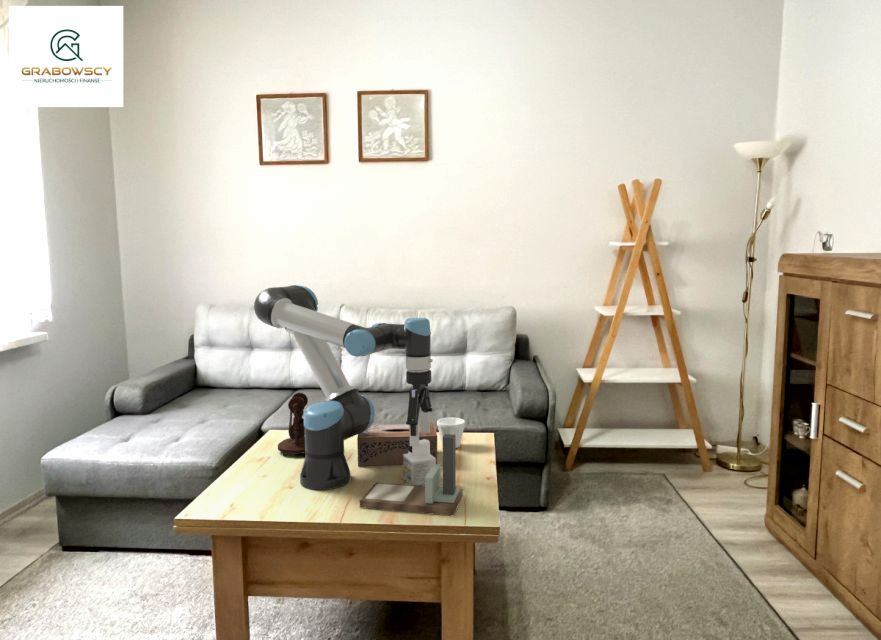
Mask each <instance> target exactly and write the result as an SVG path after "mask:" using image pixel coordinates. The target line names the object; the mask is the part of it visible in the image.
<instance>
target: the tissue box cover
mask: <svg viewBox="0 0 881 640" xmlns="http://www.w3.org/2000/svg"><path fill="white" fill-rule="evenodd" d="M418 424H419V437H424V438H427V439H429V440H430V454H431V455H432V456H433V457H435V458H436V464H438V433H437V427H436V423H430V433H421V423H418ZM356 437H357V439H356V442H357V443H356V445H357V447H356V448H357V467H358V466H374V467H403V455H404V454H408V441H409V440H410V438H409V425H406V423H403V424H402V423H396V424H395V423H393V424H392V423H391V424H389V423H388V424H372V425H371V427H370V428H368V429H367V430H365V431H364V432H362V433H361V434H357V436H356Z"/></svg>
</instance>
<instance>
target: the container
mask: <svg viewBox="0 0 881 640" xmlns="http://www.w3.org/2000/svg"><path fill="white" fill-rule="evenodd" d="M434 464H436V458H435V457H433V456H432V455H431V454H430V440H429V439H427V438H424V437H419V446H410V440H409V441H408V454H404V455H403V466H402V467H403V468H402V470H403V472H402V473H403V477H402V478H403V479H404V480H405V481H407V482H408V484H409V485H422V486H424V485H425V477H426V476H427V474H428V473H429V471H430V470H431V468H432V467H433V465H434Z"/></svg>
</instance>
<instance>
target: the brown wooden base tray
mask: <svg viewBox="0 0 881 640" xmlns="http://www.w3.org/2000/svg"><path fill="white" fill-rule="evenodd" d="M458 488H459V493H458V495H457V497H456V499H455V501H454V503H447V502H435V501H434V502H433V503H432V504H431V503H425V485H411V484H410V483H407V484H406V483H395V482H394V483H393V482H392V483H391V482H383V481H382V482H381V481H380V482H379V481H376V482H374V483H373V485H371V487H370V488H369V489H368V490H367V491H366V493H365V494H363V496H362V497H361V498H360V499H359V508H360V507H366V508H365V509H370V508H375V509H374V510H382V509H384V510H385V511H393V510H394V511H393V512H395V511H396V512H405V513H406V512H407V513H417V514H428V513H433V514H432V515H440V514H444V515H443V516H451V515H453V516H454V515H455V513H456V510H457V509H458V507H457V506H459V505H458V504H460V502H461V500H462V498H463V497H464V496H463V495H464V493H463V491H464V489H463V488H461V487H458ZM456 508H457V509H456ZM384 510H383V511H384Z"/></svg>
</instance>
